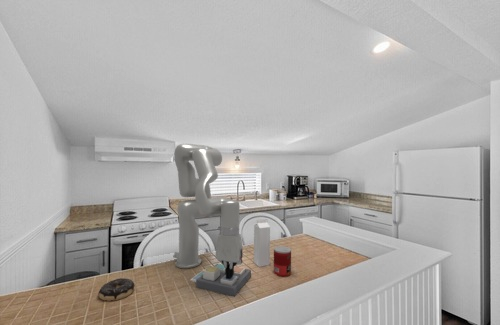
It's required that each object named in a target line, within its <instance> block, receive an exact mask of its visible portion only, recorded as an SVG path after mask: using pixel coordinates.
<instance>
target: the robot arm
mask: <svg viewBox="0 0 500 325" xmlns="http://www.w3.org/2000/svg"><path fill="white" fill-rule="evenodd" d="M175 147H176V148H174V154H173V155H174V156H173V158H174V163H175V166H176V169H177V177H178V178H177V180H178V189H179V195H180V196H181V197H182V198H194V199H185V200H183V201H180V202H179V203H178V205H177V216H178V223H179V224H178V225H179V227H178V228H179V229H178V230H179V231H178V234H179V235H178V251H175V252H174V254H173V255H172V257H173V258H174V259H175V258H176V261H175V263H174V264H175V267H177V268H179V269H192V268H195V267H197V266H198V267H199V265H201V264H202V259H201V258H200V257H199V243H200V242H199V235H200V234H199V233H200V229H199V224H198V223H197V222H196V219H200V218H212V217H219V216H220V226H218V227H217V230H218V231H219V233H218V236H217V239H216V247H215V259H217V261H218V262H220V263H221V264H223V265H224V268H225V275H226V279H231V278H232V277H233V275H234V267H236V266H238V265H242V264H243V257H244V255H243V254H244V252H243V251H244V250H243V240H242V236H241V233H240V201H239V200H237V199H231V198H228V197H225V196H223V197H212V195H211V185H210V184H211V183H213V182H215V181H216V180H217V179H218V176H219V174H218V171H217V169H216V167H218V166H220V165H221V164H222V161H223V155H222V153H221V152H220V150H218V149H217V148H213V147H211V146H209V145H202V144H193V143H181V144H178V145H176V146H175ZM191 161H192V162H193V163H194V166H193V164H191ZM195 170H196V171H195ZM196 173H197V176H198V178H197V177H196Z"/></svg>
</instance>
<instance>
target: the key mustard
mask: <svg viewBox="0 0 500 325" xmlns="http://www.w3.org/2000/svg"><path fill="white" fill-rule="evenodd" d="M204 269H205V270H204ZM204 269H203V270H204V271H203V270H202V271H203V279H206V280H210V281H215V280H216V279H217V278H218V277H219V276H220V268H218V267H214V265H213V266H212V265H209V266H208V267H207V268H204Z"/></svg>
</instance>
